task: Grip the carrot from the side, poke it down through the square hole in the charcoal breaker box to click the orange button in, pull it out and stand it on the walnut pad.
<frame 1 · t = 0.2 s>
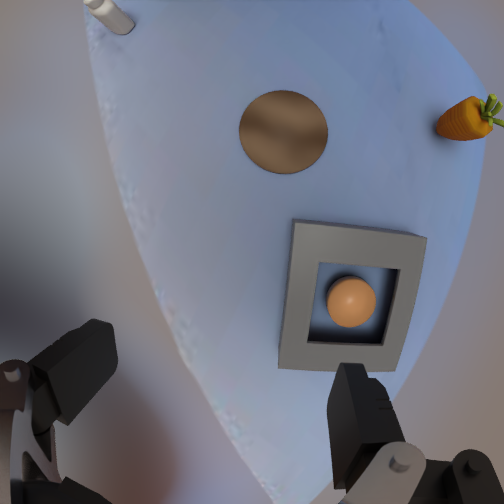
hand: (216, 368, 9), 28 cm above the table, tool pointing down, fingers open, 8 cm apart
walnut pad: (283, 131, 34), on the table
carrot: (437, 131, 32), on the table
breaker box: (344, 292, 37), on the table
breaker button: (350, 301, 34), point 4 cm above the table, slide at 0.0 cm
eye dropper bottle: (122, 26, 32), on the table
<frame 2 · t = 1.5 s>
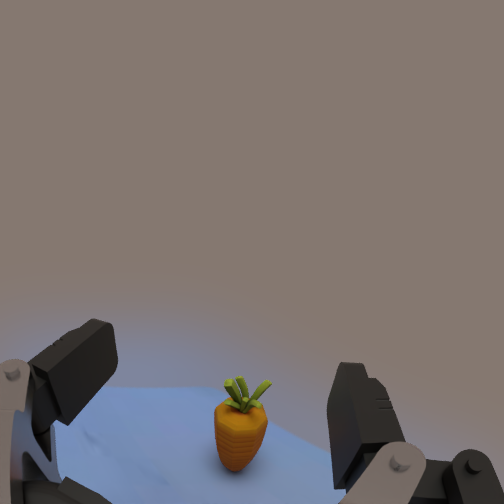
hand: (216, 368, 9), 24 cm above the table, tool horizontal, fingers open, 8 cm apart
carrot: (233, 470, 26), on the table
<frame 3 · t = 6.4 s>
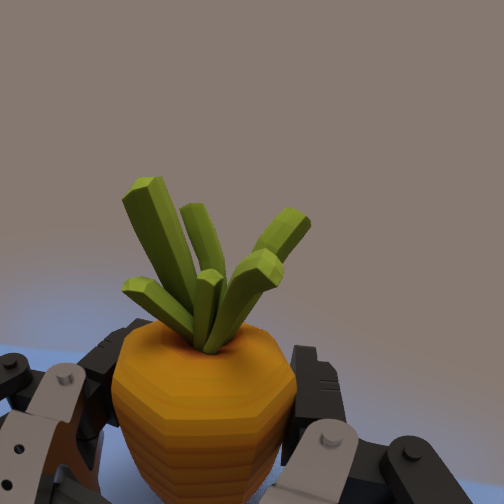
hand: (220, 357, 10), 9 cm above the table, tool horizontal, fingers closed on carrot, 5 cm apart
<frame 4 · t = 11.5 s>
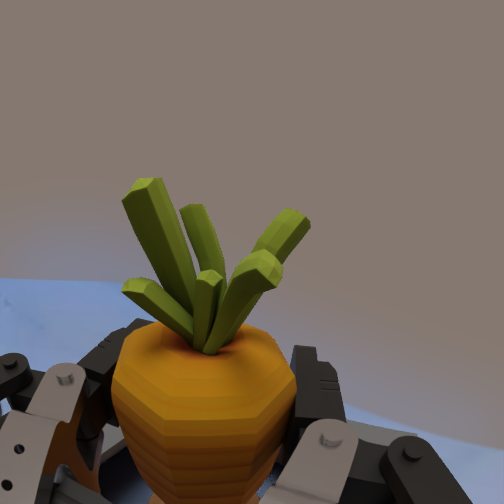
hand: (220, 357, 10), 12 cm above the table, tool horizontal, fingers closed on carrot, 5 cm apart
when the fingers open (10 cm above the table, at t = 16.8 s): carrot stays where it is, resting on walnut pad.
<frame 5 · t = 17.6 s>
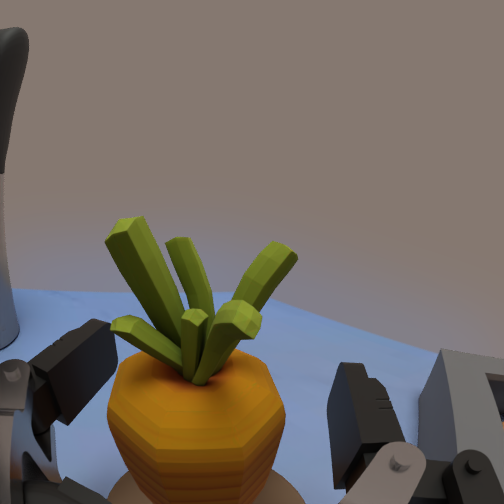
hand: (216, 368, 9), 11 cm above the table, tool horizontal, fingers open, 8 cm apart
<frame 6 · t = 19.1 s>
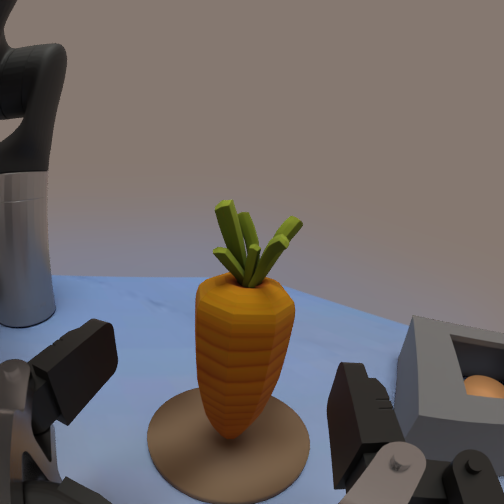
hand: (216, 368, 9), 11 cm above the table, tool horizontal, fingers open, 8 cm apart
walnut pad: (228, 441, 17), on the table
carrot: (228, 438, 16), point 1 cm above the table, touching walnut pad
breaker box: (474, 415, 17), on the table
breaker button: (483, 401, 16), point 2 cm above the table, slide at 1.9 cm
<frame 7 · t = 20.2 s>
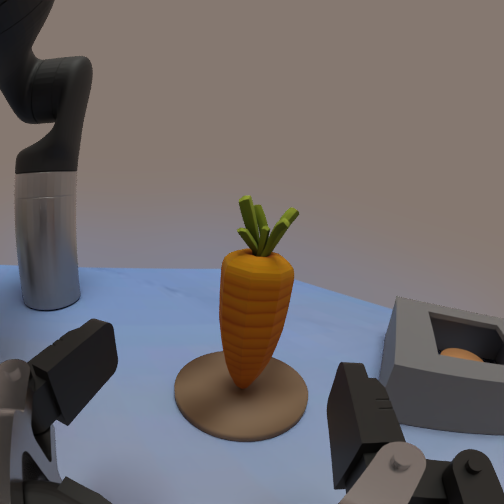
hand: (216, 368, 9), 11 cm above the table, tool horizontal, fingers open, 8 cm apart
walnut pad: (241, 393, 22), on the table
carrot: (241, 389, 22), point 1 cm above the table, touching walnut pad
breaker box: (454, 383, 22), on the table
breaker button: (460, 369, 22), point 2 cm above the table, slide at 1.9 cm
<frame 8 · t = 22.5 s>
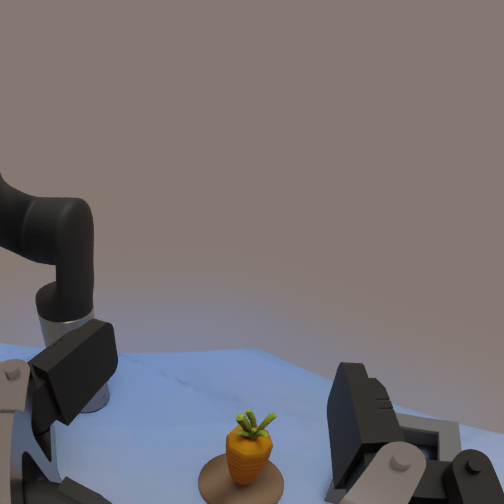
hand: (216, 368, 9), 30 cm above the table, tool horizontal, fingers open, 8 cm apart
walnut pad: (241, 484, 28), on the table
carrot: (241, 483, 28), point 1 cm above the table, touching walnut pad
breaker box: (394, 472, 28), on the table
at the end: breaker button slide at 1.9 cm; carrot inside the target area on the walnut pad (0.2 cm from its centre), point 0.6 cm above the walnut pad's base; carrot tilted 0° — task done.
